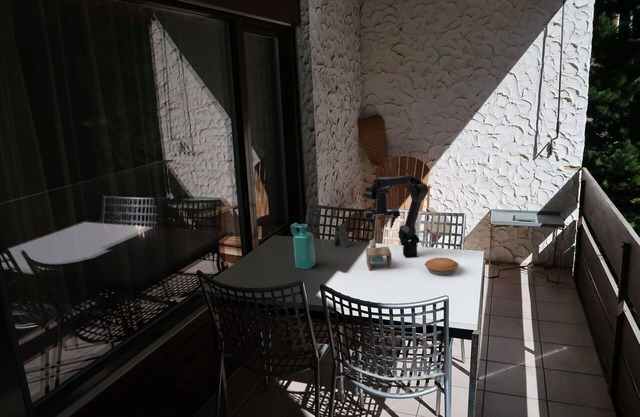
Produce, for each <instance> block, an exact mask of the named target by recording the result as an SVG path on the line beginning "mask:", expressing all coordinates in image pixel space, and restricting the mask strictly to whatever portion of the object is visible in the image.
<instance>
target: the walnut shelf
mask: <svg viewBox="0 0 640 417" xmlns="http://www.w3.org/2000/svg"><path fill="white" fill-rule="evenodd" d="M365 249H366V250H365V254H366V256H365V257H366V265H367V268H368V271H372V262H371V257H376V256H383V257H386V264H387V267H388V268H389V270H393V264H392V263H393V261H392V252H391V250H390V248H389V246H381V247H376V248H370V247H368V248H365Z"/></svg>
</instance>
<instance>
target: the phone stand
mask: <svg viewBox="0 0 640 417" xmlns="http://www.w3.org/2000/svg"><path fill="white" fill-rule="evenodd" d="M334 228H335V229H334V230H335V234H334V237H333V241H332V244H331V247H332V248H333V247H334V248H340V249H347V248H348V247H351V245H352V244H351V243H352V242H351V241H350V237H349V235H348V232H347V228H346V224H344V223H341V224H339V225H337V226H336V227H334Z"/></svg>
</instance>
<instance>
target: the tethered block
mask: <svg viewBox="0 0 640 417" xmlns="http://www.w3.org/2000/svg"><path fill="white" fill-rule="evenodd" d="M369 248H377V244H376V240H375V239H369ZM373 262H384V256H376V257H371V263H373Z"/></svg>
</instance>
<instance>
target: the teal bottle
mask: <svg viewBox="0 0 640 417" xmlns="http://www.w3.org/2000/svg"><path fill="white" fill-rule="evenodd" d="M289 227H290V231H291V234H292V236H293V248H294V249H293V250H294V263H295V268H296V269H300V270H310V269H312V268H314V266H315V265H316V257H315V256H316V255H315V254H316V253H315V242H314V241H315V240H314V234H313V233H311V232H308V231H307V227H309V226H308V224H307V223H300V224H299V223H298V222H294V223H293V224H291V225H290V226H289ZM297 229H298V230H297Z"/></svg>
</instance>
